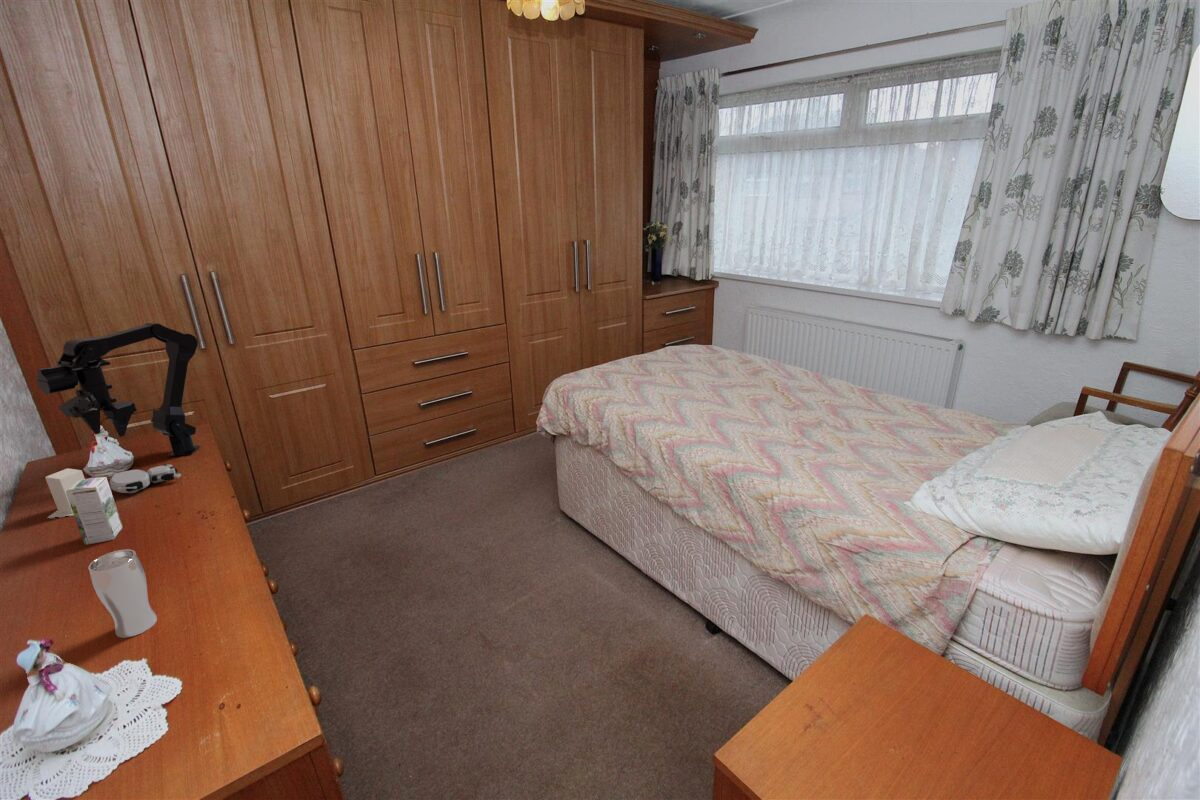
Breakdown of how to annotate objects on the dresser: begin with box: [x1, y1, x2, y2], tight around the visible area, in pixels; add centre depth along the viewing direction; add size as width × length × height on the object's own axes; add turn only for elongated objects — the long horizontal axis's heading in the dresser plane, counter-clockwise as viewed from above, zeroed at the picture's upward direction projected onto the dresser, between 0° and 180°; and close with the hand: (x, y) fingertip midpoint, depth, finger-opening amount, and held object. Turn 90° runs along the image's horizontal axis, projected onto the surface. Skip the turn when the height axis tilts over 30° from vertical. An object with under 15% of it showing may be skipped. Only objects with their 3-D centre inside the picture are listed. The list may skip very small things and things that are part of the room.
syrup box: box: [66, 476, 124, 546], centre depth 128 cm, size 6×6×14 cm
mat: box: [47, 509, 74, 519], centre depth 142 cm, size 8×8×1 cm
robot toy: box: [107, 463, 182, 495], centre depth 154 cm, size 12×4×15 cm
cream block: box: [45, 467, 86, 513], centre depth 140 cm, size 5×5×10 cm
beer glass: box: [88, 548, 158, 639], centre depth 99 cm, size 7×7×15 cm
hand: (109, 434), depth 156 cm, fingers open, 9 cm apart
